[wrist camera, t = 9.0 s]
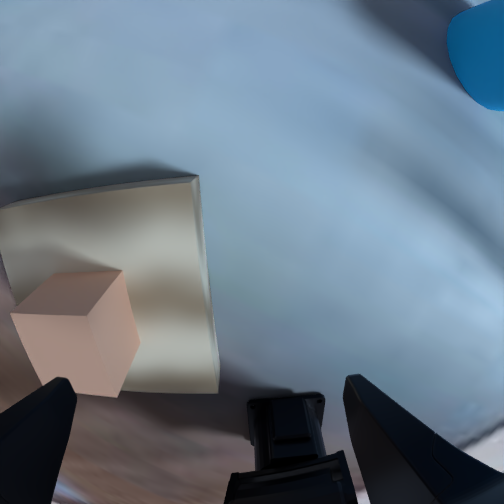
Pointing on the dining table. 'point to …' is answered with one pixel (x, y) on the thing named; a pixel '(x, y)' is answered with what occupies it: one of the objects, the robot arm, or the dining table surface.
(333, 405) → the dining table surface
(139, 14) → the dining table surface
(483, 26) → the mug
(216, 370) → the plinth
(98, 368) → the cube
